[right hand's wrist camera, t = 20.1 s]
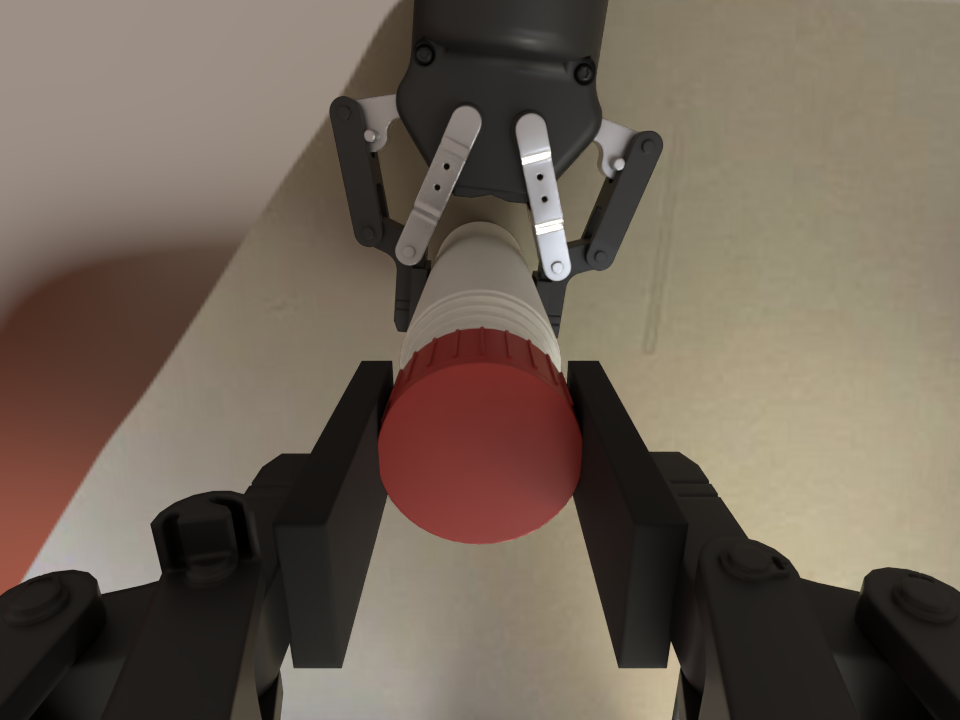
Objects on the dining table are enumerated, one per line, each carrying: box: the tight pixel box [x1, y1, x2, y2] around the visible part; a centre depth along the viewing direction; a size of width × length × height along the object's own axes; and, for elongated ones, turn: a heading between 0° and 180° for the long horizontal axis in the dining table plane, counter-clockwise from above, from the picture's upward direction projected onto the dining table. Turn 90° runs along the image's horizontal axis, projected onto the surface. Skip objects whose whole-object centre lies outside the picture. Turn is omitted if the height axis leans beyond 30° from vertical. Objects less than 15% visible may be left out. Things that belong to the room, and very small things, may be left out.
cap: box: [378, 327, 583, 544], centre depth 13 cm, size 5×5×2 cm
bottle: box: [399, 221, 561, 373], centre depth 23 cm, size 5×5×21 cm
